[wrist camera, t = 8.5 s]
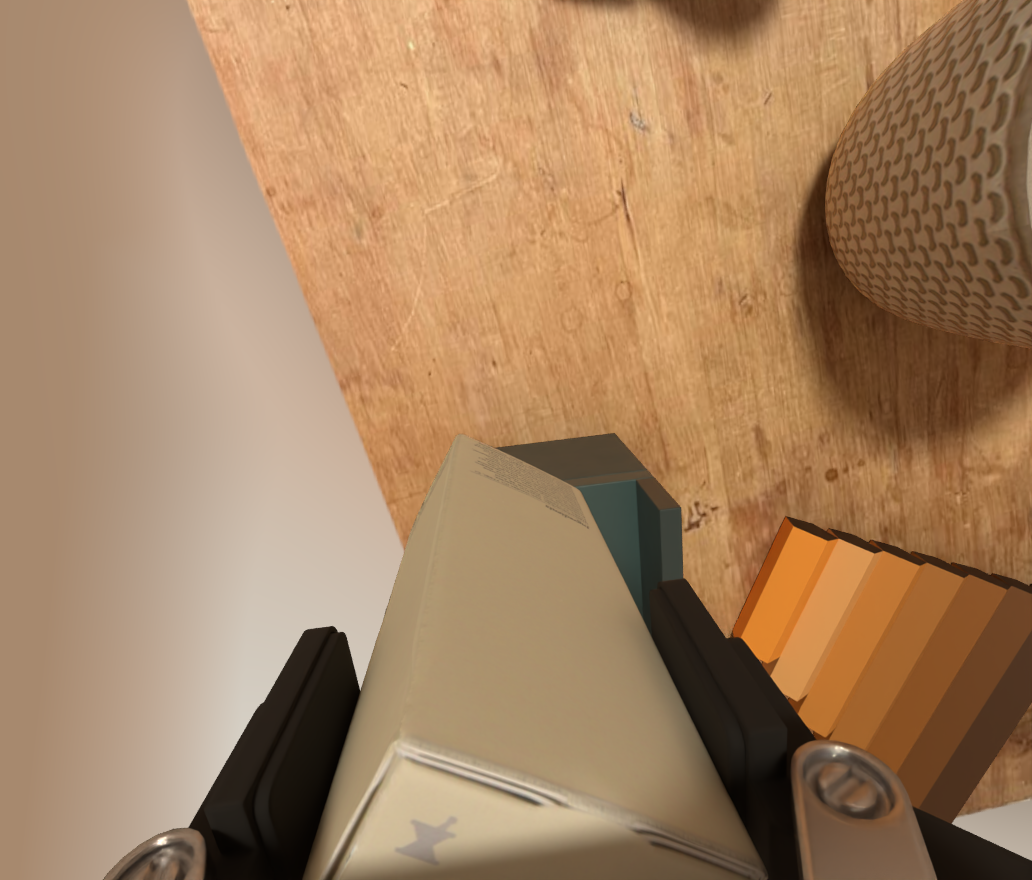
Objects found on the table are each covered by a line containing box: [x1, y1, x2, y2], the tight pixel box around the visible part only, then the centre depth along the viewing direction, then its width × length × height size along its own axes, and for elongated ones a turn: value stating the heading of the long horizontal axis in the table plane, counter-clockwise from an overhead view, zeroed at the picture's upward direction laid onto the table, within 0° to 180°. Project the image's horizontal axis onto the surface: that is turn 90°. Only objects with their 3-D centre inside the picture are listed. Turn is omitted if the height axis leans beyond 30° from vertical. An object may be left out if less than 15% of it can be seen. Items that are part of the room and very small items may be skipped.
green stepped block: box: [495, 433, 683, 637], centre depth 31 cm, size 10×14×13 cm
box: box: [302, 434, 768, 880], centre depth 12 cm, size 5×4×13 cm
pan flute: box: [732, 516, 1032, 824], centre depth 41 cm, size 25×3×25 cm
